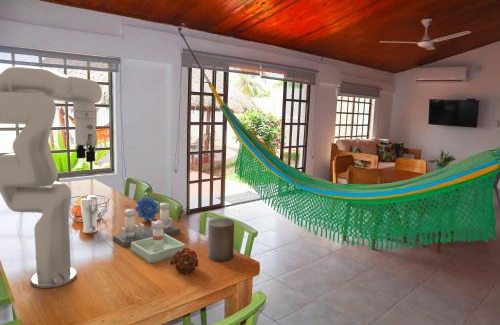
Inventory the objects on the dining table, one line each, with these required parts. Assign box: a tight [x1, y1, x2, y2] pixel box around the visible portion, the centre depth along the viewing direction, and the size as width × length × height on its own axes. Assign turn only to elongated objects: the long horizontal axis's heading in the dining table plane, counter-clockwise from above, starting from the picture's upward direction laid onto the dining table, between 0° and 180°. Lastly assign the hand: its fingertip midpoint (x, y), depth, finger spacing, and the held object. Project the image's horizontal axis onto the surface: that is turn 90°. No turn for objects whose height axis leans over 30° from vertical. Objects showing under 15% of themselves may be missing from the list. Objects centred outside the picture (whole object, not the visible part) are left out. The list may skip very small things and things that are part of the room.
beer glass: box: [80, 195, 99, 234], centre depth 157 cm, size 7×7×15 cm
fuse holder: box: [112, 216, 181, 248], centre depth 155 cm, size 10×26×6 cm, turn 134°
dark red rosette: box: [169, 247, 199, 274], centre depth 125 cm, size 8×8×12 cm
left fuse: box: [124, 208, 136, 238], centre depth 148 cm, size 4×4×11 cm
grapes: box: [135, 196, 160, 221], centre depth 174 cm, size 12×7×12 cm, turn 130°
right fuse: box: [159, 202, 170, 230], centre depth 159 cm, size 4×4×11 cm
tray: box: [130, 234, 186, 265], centre depth 139 cm, size 15×15×4 cm
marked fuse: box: [153, 220, 164, 252], centre depth 139 cm, size 4×4×11 cm
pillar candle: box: [207, 217, 235, 263], centre depth 137 cm, size 10×10×15 cm
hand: (85, 159), depth 142 cm, fingers open, 9 cm apart
